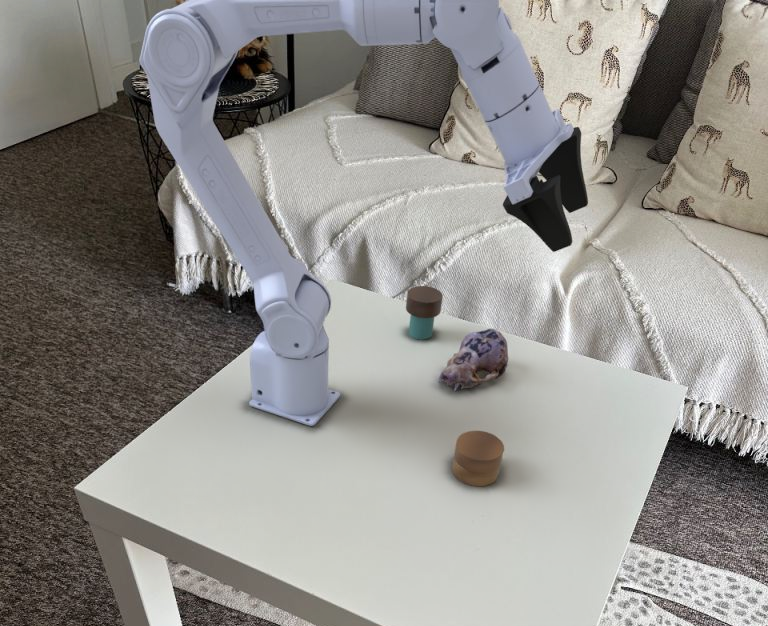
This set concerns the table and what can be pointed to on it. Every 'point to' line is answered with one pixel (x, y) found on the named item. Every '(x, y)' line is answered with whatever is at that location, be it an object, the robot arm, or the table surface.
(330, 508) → the table surface
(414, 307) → the walnut chip
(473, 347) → the skull
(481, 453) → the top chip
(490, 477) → the bottom chip
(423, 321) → the teal cylinder peg
